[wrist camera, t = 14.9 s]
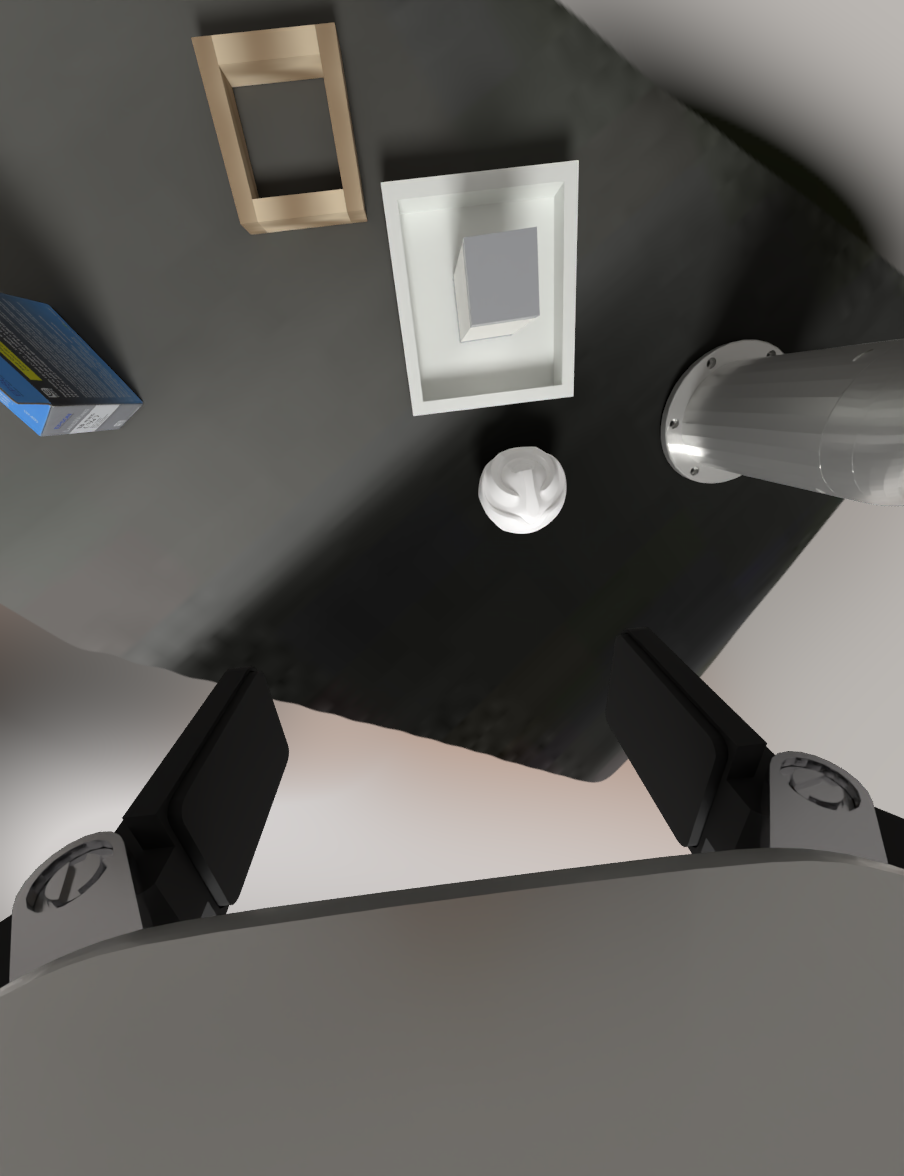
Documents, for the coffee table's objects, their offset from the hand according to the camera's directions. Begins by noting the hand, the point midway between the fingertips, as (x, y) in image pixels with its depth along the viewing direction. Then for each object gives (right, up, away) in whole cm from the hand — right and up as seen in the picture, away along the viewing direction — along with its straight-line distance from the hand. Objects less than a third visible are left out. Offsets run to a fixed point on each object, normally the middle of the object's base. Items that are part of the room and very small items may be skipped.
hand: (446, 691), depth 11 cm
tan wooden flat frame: (-11, +35, +18) cm, 41 cm away
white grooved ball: (+6, +13, +30) cm, 33 cm away
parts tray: (+3, +27, +23) cm, 35 cm away
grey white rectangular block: (+3, +26, +22) cm, 35 cm away
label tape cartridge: (-31, +21, +23) cm, 44 cm away
